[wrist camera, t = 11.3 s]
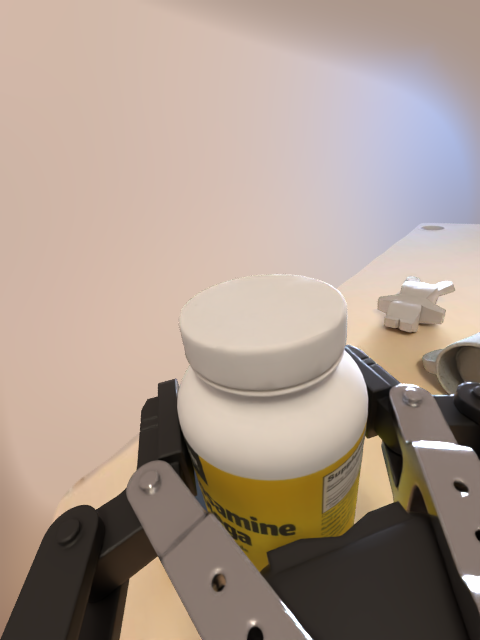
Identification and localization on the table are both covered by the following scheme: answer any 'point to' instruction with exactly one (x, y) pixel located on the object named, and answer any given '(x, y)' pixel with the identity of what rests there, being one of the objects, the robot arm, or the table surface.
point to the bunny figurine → (414, 304)
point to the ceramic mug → (455, 363)
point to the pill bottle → (273, 409)
